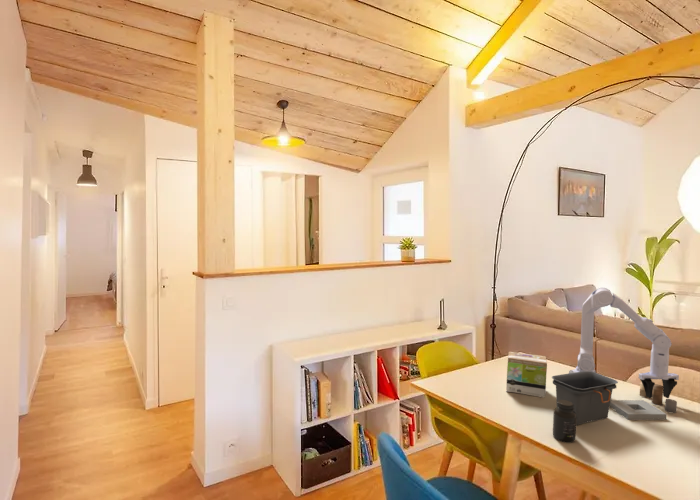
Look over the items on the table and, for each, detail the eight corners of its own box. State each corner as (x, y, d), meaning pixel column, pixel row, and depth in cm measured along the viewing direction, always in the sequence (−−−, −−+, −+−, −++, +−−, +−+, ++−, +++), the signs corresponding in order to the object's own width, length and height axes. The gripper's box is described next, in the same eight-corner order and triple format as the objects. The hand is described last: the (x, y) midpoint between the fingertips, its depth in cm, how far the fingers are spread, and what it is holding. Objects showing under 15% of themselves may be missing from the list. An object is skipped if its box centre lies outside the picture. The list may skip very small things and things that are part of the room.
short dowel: (669, 413, 159) (670, 402, 159) (662, 409, 162) (663, 398, 162) (678, 413, 159) (679, 402, 159) (671, 409, 163) (672, 398, 162)
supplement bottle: (548, 433, 143) (549, 398, 142) (567, 432, 144) (569, 397, 143) (560, 443, 136) (561, 407, 136) (580, 442, 137) (582, 406, 136)
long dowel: (655, 404, 166) (656, 387, 166) (649, 401, 169) (650, 384, 169) (664, 404, 166) (665, 387, 166) (658, 401, 169) (658, 384, 169)
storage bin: (586, 405, 166) (588, 369, 165) (625, 422, 151) (627, 383, 150) (545, 414, 157) (547, 376, 156) (583, 433, 143) (585, 392, 142)
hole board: (627, 419, 153) (628, 414, 153) (607, 405, 165) (607, 400, 165) (666, 419, 154) (666, 414, 154) (643, 405, 166) (643, 400, 166)
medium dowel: (643, 397, 173) (644, 384, 173) (637, 394, 176) (638, 381, 176) (651, 397, 173) (652, 384, 173) (645, 394, 176) (646, 381, 176)
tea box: (506, 392, 177) (507, 357, 176) (506, 383, 186) (508, 350, 186) (545, 398, 172) (547, 362, 171) (544, 389, 181) (546, 355, 180)
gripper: (648, 366, 163) (646, 401, 164) (685, 366, 163) (683, 401, 164) (635, 360, 170) (633, 393, 171) (671, 360, 170) (669, 394, 171)
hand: (657, 397), depth 168 cm, fingers open, 6 cm apart
